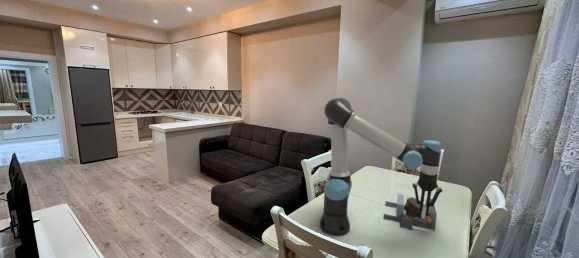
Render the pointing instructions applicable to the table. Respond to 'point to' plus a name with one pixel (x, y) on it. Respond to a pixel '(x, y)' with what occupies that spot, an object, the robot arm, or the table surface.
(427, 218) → the lever
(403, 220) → the vise frame
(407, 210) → the rock
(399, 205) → the vise jaw
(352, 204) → the table surface
